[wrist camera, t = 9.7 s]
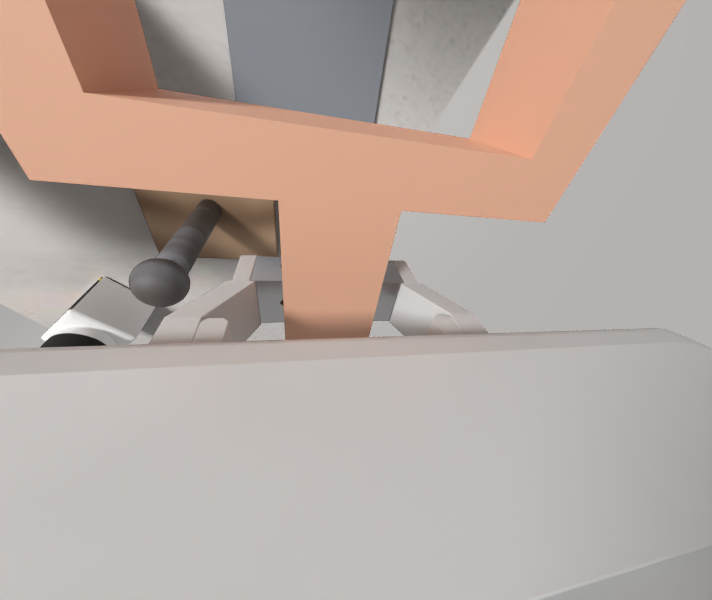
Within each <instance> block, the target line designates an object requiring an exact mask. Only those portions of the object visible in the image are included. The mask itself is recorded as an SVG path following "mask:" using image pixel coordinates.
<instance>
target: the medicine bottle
mask: <svg viewBox="0 0 712 600" xmlns="http://www.w3.org/2000/svg"><path fill="white" fill-rule="evenodd" d="M154 309H155V306H150V305H147V304H145V303H143V302H141V301H139V300H138V299H137V298H136V297H135V296H134V295H133V293H132V292H131V290H129V289H128V288H126V287H124V286H122V285H120V284H118V283H116V282H114V281H112V280H110V279H109V278H107V277H101V278H100V279H99V280H98V281H97V282H96V283H95V284H94V285H93V286H92V287H91V288H90V289H89V290H88V291H87V292H86V293H85V294H84V295H82V296H81V297H80V298H79V299H78V300H77V301H76V302H75V303H74V304H73V305H72V306H71V307H70V308H69V309H68V310H67V311H66V312H65V313H64V314H63V315H62V316H61V317H60V318H59V319H58V320H57V321H56V322H55V323H54V325H53V326H52V327H51V328H50V329H49V330H48V331H47V332H46V333H45V334H44V335H43V336H42V340H44V341H46V342H45V343H44V344H43V345H42V346H41V347H40V348H45V347H77V346H108V345H129V344H130V343H131V342H132V341H134V340H135V339H136V338H137V336H138V334H139V333H140V331H141V330H142V328H143V326H144V325H145V323H146V322H147V320H148V318H149V317H150V315H151V314H152V312H153V310H154Z"/></svg>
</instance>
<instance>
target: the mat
mask: <svg viewBox="0 0 712 600" xmlns="http://www.w3.org/2000/svg"><path fill="white" fill-rule="evenodd" d="M393 1H394V0H223V2H224V10H225V18H226V26H227V34H228V42H229V50H230V57H231V65H232V73H233V81H234V89H235V97H236V101H237V102H244V103H250V104H256V105H262V106H269V107H275V108H281V109H287V110H294V111H300V112H306V113H312V114H319V115H325V116H331V117H337V118H344V119H350V120H356V121H362V122H369V123H374V122H375V115H376V109H377V102H378V96H379V90H380V83H381V77H382V71H383V64H384V58H385V52H386V45H387V39H388V32H389V26H390V20H391V13H392V7H393Z"/></svg>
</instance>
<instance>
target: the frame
mask: <svg viewBox="0 0 712 600" xmlns="http://www.w3.org/2000/svg"><path fill="white" fill-rule="evenodd" d="M685 1H686V0H520V3H519V5H518V8H517V11H516V14H515V16H514V19H513V22H512V25H511V27H510V30H509V33H508V36H507V38H506V41H505V44H504V47H503V49H502V52H501V55H500V58H499V60H498V63H497V66H496V68H495V71H494V74H493V77H492V79H491V82H490V85H489V88H488V90H487V93H486V96H485V99H484V101H483V105H482V107H481V110H480V112H479V115H478V118H477V121H476V123H475V126H474V129H473V132H472V134H471V137H470V139H468V138H462V137H456V136H450V135H443V134H437V133H431V132H425V131H418V130H412V129H406V128H400V127H394V126H387V125H381V124H375V123H369V122H362V121H356V120H350V119H344V118H337V117H331V116H325V115H319V114H312V113H306V112H300V111H294V110H287V109H281V108H275V107H269V106H262V105H256V104H250V103H244V102H237V101H231V100H225V99H219V98H212V97H206V96H200V95H194V94H187V93H181V92H175V91H169V90H163V89H159V88H158V84H157V81H156V77H155V73H154V69H153V66H152V62H151V58H150V55H149V51H148V47H147V44H146V40H145V36H144V32H143V29H142V25H141V21H140V18H139V14H138V10H137V7H136V3H135V0H0V134H1V135H2V137H3V139H4V140H5V142H6V143H7V145H8V146H9V148H10V150H11V151H12V153H13V154H14V156H15V158H16V159H17V161H18V162H19V164H20V166H21V167H22V169H23V170H24V172H25V173H26V175H27V177H28V178H29V180H36V181H48V182H60V183H72V184H85V185H97V186H109V187H121V188H133V189H145V190H157V191H169V192H181V193H193V194H206V195H218V196H230V197H242V198H254V199H266V200H278V205H279V225H280V244H281V264H282V284H283V303H284V323H285V340H298V339H330V338H362V337H369V334H370V330H371V326H372V323H373V319H374V315H375V311H376V307H377V303H378V299H379V295H380V291H381V288H382V284H383V280H384V276H385V272H386V268H387V264H388V260H389V256H390V253H391V248H392V245H393V241H394V237H395V233H396V229H397V225H398V221H399V217H400V214H401V211H411V212H423V213H436V214H448V215H460V216H472V217H473V216H474V217H485V218H496V219H508V220H521V221H532V222H545V221H546V220H547V218H548V216H549V215H550V213H551V212H552V210H553V209H554V207H555V205H556V204H557V202H558V200H559V199H560V198H561V196H562V194H563V193H564V191H565V190H566V188H567V187H568V185H569V183H570V182H571V180H572V179H573V177H574V175H575V174H576V172H577V171H578V169H579V168H580V166H581V164H582V163H583V161H584V160H585V158H586V157H587V155H588V154H589V152H590V150H591V149H592V147H593V146H594V144H595V142H596V141H597V139H598V138H599V136H600V135H601V133H602V131H603V130H604V128H605V127H606V125H607V124H608V122H609V120H610V119H611V118H612V116H613V114H614V113H615V111H616V110H617V108H618V107H619V105H620V103H621V102H622V100H623V99H624V97H625V96H626V94H627V92H628V91H629V89H630V88H631V86H632V85H633V83H634V82H635V80H636V78H637V77H638V75H639V73H640V72H641V70H642V69H643V67H644V66H645V64H646V63H647V61H648V59H649V58H650V56H651V55H652V53H653V52H654V50H655V49H656V47H657V45H658V44H659V42H660V41H661V39H662V38H663V36H664V34H665V33H666V31H667V30H668V28H669V27H670V25H671V23H672V22H673V20H674V19H675V17H676V15H677V14H678V12H679V11H680V9H681V8H682V6H683V5H684V3H685Z"/></svg>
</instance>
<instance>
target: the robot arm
mask: <svg viewBox="0 0 712 600" xmlns="http://www.w3.org/2000/svg"><path fill="white" fill-rule="evenodd" d="M373 321H389V322H390V323H391V324H392V325H393V326H394V327H395V328H396V329H398V331H400V332H401V333H402V334H403V335H404V336H394V337H362V338H330V339H298V340H267V341H246V340H247V339H248V338H249V337H250V336H251V335H252V333H253V332H254V331H255V330H256V329H257V328H258V327H259V326H260V325H261V323H276V322H284V303H283V284H282V264H281V257H276V256H257V255H241V256H240V259H239V262H238V264H237V267H236V270H235V273H234V276H233V279H232V280H227V281H226V282H224V283H222V284H220V285H219V286H217V287H215V288H214V289H212V290H210V291H209V292H207V293H205V294H203V295H202V296H200V297H198V298H197V299H195V300H193V301H191V302H190V303H188V304H186V305H185V306H183V307H181V308H179V309H178V310H176V311H174V312H173V313H171V314H169V315H168V316H166V317H164V318H163V320H162V322H161V324H160V325H159V327H158V329H157V330H156V332H155V334H154V336H153V337H152V339H151V341H150V342H149V344H140V345H108V346H77V347H45V348H15V349H0V600H712V348H710V347H708V346H706V345H703V344H701V343H699V342H696V341H694V340H692V339H689V338H687V337H684V336H682V335H679V334H677V333H674V332H672V331H669V330H666V329H658V328H644V329H612V330H585V331H584V330H583V331H551V332H522V333H520V332H519V333H491V334H490V333H488V332H487V331H486V329H485V328H484V327H483V325H482V324H481V323H480V321H479V320H478V319H477V318H476V316H475V315H474V314H473V313H471V312H470V311H468V310H466V309H464V308H462V307H461V306H459V305H458V304H456V303H454V302H452V301H451V300H449V299H447V298H445V297H444V296H442V295H440V294H439V293H437V292H435V291H434V290H432V289H430V288H428V287H427V286H425V285H423V284H418V282H417V281H416V279H415V277H414V275H413V274H412V272H411V270H410V269H409V267H408V265H407V264H406V262H405V261H388V264H387V268H386V272H385V276H384V280H383V284H382V288H381V291H380V295H379V299H378V303H377V307H376V311H375V315H374V319H373Z"/></svg>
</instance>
